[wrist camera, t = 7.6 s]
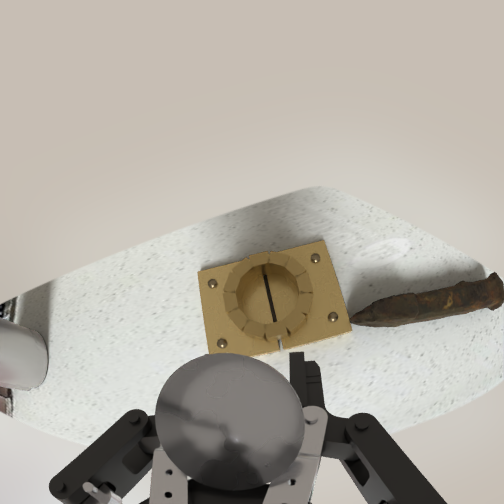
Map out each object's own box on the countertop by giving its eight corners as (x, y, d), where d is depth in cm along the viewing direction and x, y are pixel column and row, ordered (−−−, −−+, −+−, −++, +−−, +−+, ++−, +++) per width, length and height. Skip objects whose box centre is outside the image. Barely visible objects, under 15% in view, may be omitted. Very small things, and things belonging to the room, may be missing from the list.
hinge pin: (269, 441, 15) (237, 513, 5) (218, 401, 16) (131, 421, 7) (313, 391, 16) (337, 413, 6) (259, 352, 17) (215, 322, 8)
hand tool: (484, 280, 24) (504, 266, 20) (490, 312, 22) (512, 300, 18) (346, 296, 27) (353, 281, 23) (348, 334, 25) (357, 326, 21)
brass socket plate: (213, 364, 26) (201, 361, 23) (200, 274, 31) (188, 261, 27) (350, 332, 25) (358, 325, 22) (323, 244, 30) (325, 226, 26)
